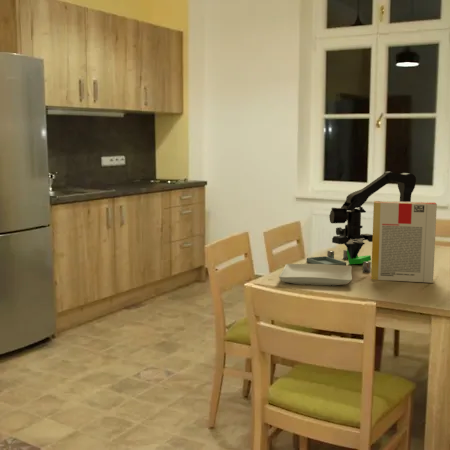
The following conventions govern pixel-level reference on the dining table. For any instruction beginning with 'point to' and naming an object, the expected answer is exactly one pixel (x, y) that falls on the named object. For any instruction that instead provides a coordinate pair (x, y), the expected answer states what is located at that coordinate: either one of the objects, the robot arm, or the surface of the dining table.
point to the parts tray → (325, 261)
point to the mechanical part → (358, 259)
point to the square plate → (316, 274)
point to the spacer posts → (331, 254)
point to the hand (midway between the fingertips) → (353, 258)
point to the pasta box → (403, 241)
